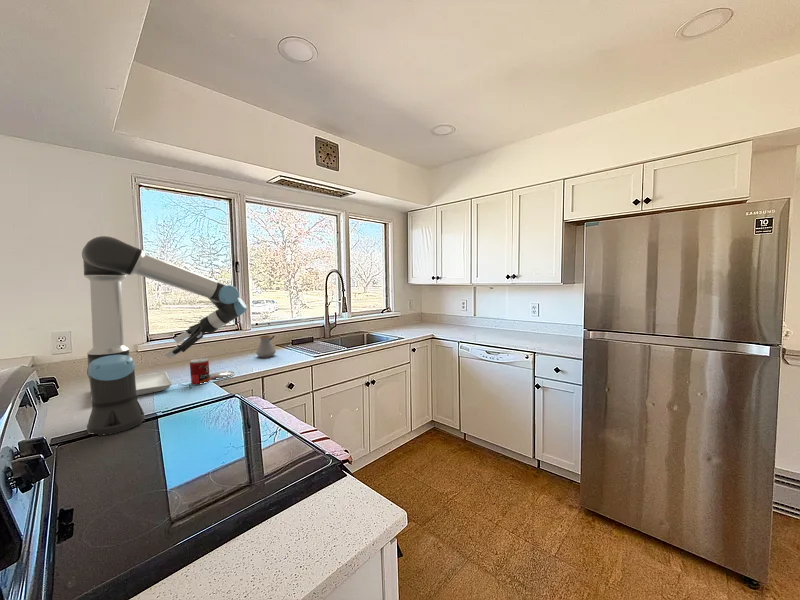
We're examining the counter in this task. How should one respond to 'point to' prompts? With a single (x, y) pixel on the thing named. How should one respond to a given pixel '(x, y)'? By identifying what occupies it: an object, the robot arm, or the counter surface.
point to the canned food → (199, 370)
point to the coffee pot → (266, 347)
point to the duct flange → (221, 374)
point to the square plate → (151, 383)
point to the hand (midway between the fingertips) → (171, 348)
